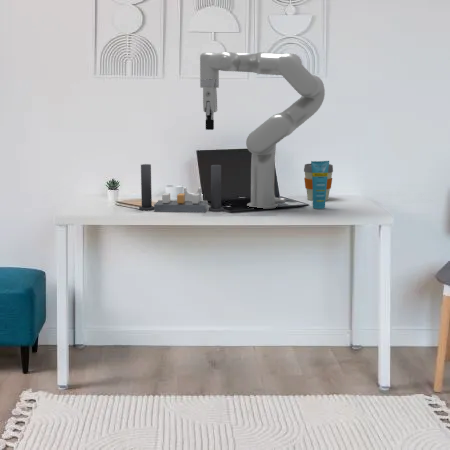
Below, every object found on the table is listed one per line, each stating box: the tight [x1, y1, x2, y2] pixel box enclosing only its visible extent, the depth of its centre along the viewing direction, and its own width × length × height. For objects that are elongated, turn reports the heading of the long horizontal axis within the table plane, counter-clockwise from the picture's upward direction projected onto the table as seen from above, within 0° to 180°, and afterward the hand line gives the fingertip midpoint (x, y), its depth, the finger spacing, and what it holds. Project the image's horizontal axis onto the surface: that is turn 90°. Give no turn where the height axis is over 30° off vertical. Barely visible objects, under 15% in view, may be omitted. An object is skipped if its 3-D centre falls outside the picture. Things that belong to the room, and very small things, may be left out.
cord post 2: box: [208, 164, 225, 213], centre depth 305 cm, size 6×6×18 cm
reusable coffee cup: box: [303, 163, 334, 202], centre depth 333 cm, size 13×13×15 cm
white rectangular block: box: [161, 192, 171, 203], centre depth 308 cm, size 2×5×3 cm, turn 174°
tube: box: [310, 160, 330, 210], centre depth 310 cm, size 7×5×19 cm, turn 104°
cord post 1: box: [138, 163, 154, 212], centre depth 308 cm, size 6×6×18 cm
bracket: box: [183, 186, 204, 201], centre depth 325 cm, size 13×7×8 cm, turn 176°
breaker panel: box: [153, 199, 209, 213], centre depth 308 cm, size 20×10×3 cm, turn 85°
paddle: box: [192, 194, 200, 204], centre depth 307 cm, size 2×5×3 cm, turn 175°
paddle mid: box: [176, 192, 185, 203], centre depth 307 cm, size 2×5×3 cm, turn 175°
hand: (209, 129), depth 315 cm, fingers closed
